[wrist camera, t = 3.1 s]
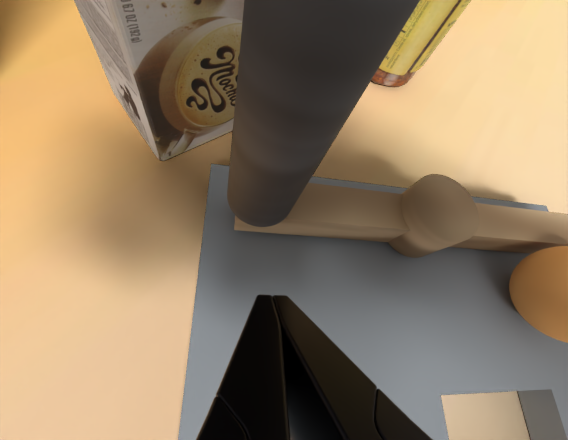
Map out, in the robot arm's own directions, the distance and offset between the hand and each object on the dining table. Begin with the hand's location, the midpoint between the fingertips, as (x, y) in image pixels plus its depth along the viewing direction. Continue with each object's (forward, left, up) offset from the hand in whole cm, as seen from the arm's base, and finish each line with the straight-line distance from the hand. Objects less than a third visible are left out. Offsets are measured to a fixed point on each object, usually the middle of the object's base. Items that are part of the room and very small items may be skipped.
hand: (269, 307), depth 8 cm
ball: (+1, -17, -3) cm, 17 cm away
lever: (+5, -9, -5) cm, 12 cm away
